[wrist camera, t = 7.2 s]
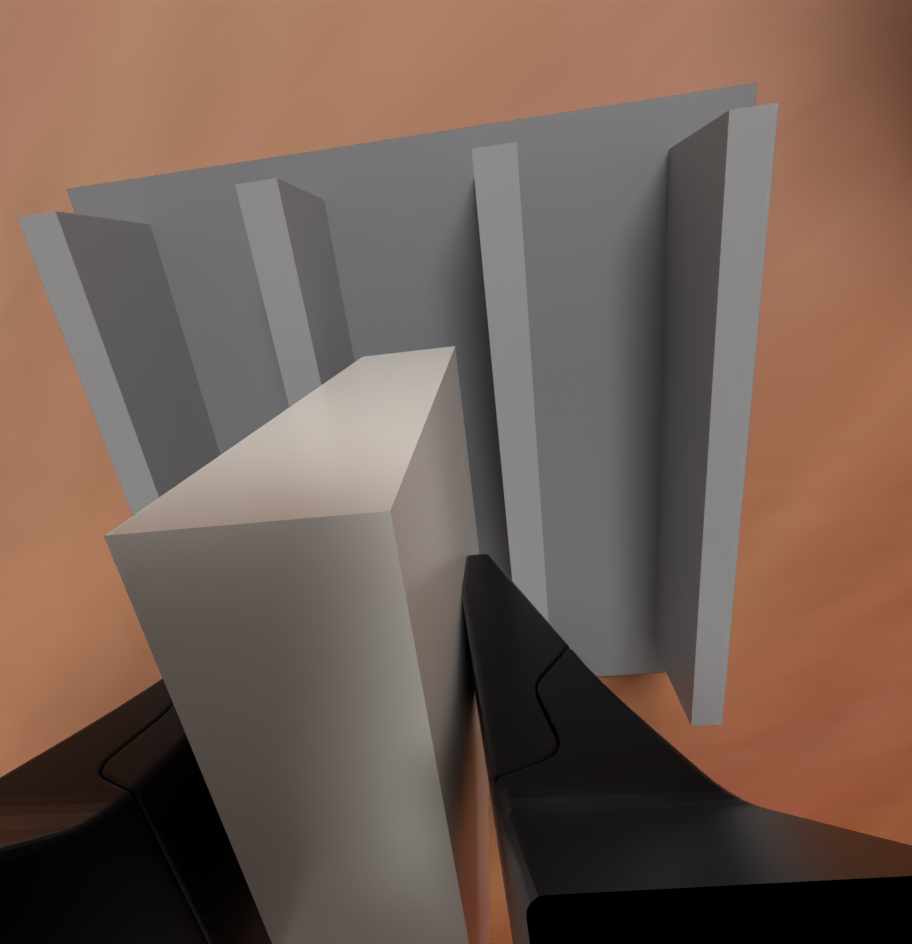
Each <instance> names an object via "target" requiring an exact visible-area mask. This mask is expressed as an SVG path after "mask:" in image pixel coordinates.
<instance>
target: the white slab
mask: <svg viewBox="0 0 912 944" xmlns="http://www.w3.org/2000/svg"><path fill="white" fill-rule="evenodd" d="M104 537H105V539H106V542H107V544H108V547H109V549H110V551H111V554H112V556H113V559H114V561H115V564H116V566H117V568H118V571H119V573H120V576H121V578H122V581H123V583H124V585H125V588H126V590H127V593H128V595H129V598H130V600H131V602H132V605H133V607H134V610H135V612H136V615H137V617H138V619H139V622H140V624H141V627H142V629H143V632H144V634H145V636H146V639H147V641H148V644H149V646H150V649H151V651H152V653H153V656H154V658H155V661H156V663H157V666H158V668H159V670H160V673H161V675H162V678H163V680H164V683H165V685H166V687H167V690H168V692H169V695H170V697H171V700H172V702H173V704H174V707H175V709H176V712H177V714H178V716H179V719H180V721H181V724H182V726H183V729H184V731H185V733H186V736H187V738H188V741H189V743H190V746H191V748H192V750H193V753H194V755H195V758H196V760H197V763H198V765H199V767H200V770H201V772H202V775H203V777H204V780H205V782H206V784H207V787H208V789H209V792H210V794H211V797H212V799H213V801H214V804H215V806H216V809H217V811H218V814H219V816H220V818H221V821H222V823H223V826H224V828H225V831H226V833H227V835H228V838H229V840H230V843H231V845H232V848H233V850H234V852H235V855H236V857H237V860H238V862H239V865H240V867H241V869H242V872H243V874H244V877H245V879H246V882H247V884H248V886H249V889H250V891H251V894H252V896H253V899H254V901H255V903H256V906H257V908H258V911H259V913H260V916H261V918H262V920H263V923H264V925H265V928H266V930H267V933H268V935H269V937H270V940H271V942H272V944H490V875H489V783H488V776H487V769H486V763H485V756H484V750H483V743H482V737H481V730H480V723H479V717H478V710H477V704H476V697H475V690H474V683H473V675H472V668H471V661H470V653H469V646H468V639H467V631H466V624H465V617H464V609H463V602H462V585H463V577H464V570H465V564H466V557H467V556H468V555H476V554H479V545H478V536H477V528H476V519H475V511H474V502H473V494H472V485H471V477H470V468H469V459H468V451H467V442H466V434H465V425H464V417H463V408H462V400H461V391H460V382H459V374H458V365H457V357H456V348H455V346H451V347H443V348H434V349H425V350H417V351H408V352H399V353H390V354H382V355H373V356H364V357H362V358H360V359H359V360H357V361H356V362H354V363H353V364H351V365H350V366H349V367H347V368H346V369H344V370H343V371H341V372H340V373H338V374H337V375H336V376H334V377H333V378H331V379H330V380H328V381H327V382H325V383H324V384H323V385H321V386H320V387H318V388H317V389H315V390H314V391H312V392H311V393H310V394H308V395H307V396H305V397H304V398H302V399H301V400H299V401H298V402H297V403H295V404H294V405H292V406H291V407H289V408H288V409H286V410H285V411H283V412H282V413H281V414H279V415H278V416H276V417H275V418H273V419H272V420H270V421H269V422H268V423H266V424H265V425H263V426H262V427H260V428H259V429H257V430H256V431H255V432H253V433H252V434H250V435H249V436H247V437H246V438H244V439H243V440H242V441H240V442H239V443H237V444H236V445H234V446H233V447H231V448H230V449H229V450H227V451H226V452H224V453H223V454H221V455H220V456H218V457H217V458H216V459H214V460H213V461H211V462H210V463H208V464H207V465H205V466H204V467H203V468H201V469H200V470H198V471H197V472H195V473H194V474H192V475H191V476H190V477H188V478H187V479H185V480H184V481H182V482H181V483H179V484H178V485H177V486H175V487H174V488H172V489H171V490H169V491H168V492H166V493H165V494H163V495H162V496H161V497H159V498H158V499H156V500H155V501H153V502H152V503H150V504H149V505H148V506H146V507H145V508H143V509H142V510H140V511H139V512H137V513H136V514H135V515H133V516H132V517H130V518H129V519H127V520H126V521H124V522H123V523H122V524H120V525H119V526H117V527H116V528H114V529H113V530H111V531H110V532H109V533H107V534H106V535H104Z"/></svg>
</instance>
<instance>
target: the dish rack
mask: <svg viewBox="0 0 912 944" xmlns="http://www.w3.org/2000/svg"><path fill="white" fill-rule="evenodd" d="M756 90H757V83H752V84H745V85H739V86H732V87H726V88H719V89H713V90H706V91H700V92H693V93H687V94H680V95H674V96H668V97H661V98H655V99H648V100H642V101H635V102H629V103H622V104H616V105H609V106H603V107H596V108H590V109H583V110H577V111H570V112H564V113H557V114H551V115H544V116H538V117H531V118H525V119H518V120H512V121H505V122H499V123H493V124H486V125H480V126H473V127H467V128H460V129H454V130H447V131H441V132H434V133H428V134H421V135H415V136H408V137H402V138H395V139H389V140H382V141H376V142H369V143H363V144H356V145H350V146H343V147H337V148H330V149H324V150H318V151H311V152H305V153H298V154H292V155H285V156H279V157H272V158H266V159H259V160H253V161H246V162H240V163H233V164H227V165H220V166H214V167H207V168H201V169H194V170H188V171H181V172H175V173H168V174H162V175H155V176H149V177H143V178H136V179H130V180H123V181H117V182H110V183H104V184H97V185H91V186H84V187H78V188H71V189H67V192H68V194H69V197H70V200H71V203H72V206H73V209H74V212H75V214H71V213H64V212H57V211H54V212H48V213H41V214H34V215H28V216H21V217H17V218H18V221H19V223H20V226H21V228H22V231H23V233H24V236H25V239H26V241H27V244H28V246H29V249H30V252H31V254H32V257H33V259H34V262H35V264H36V267H37V270H38V272H39V275H40V277H41V280H42V282H43V285H44V288H45V290H46V293H47V295H48V298H49V301H50V303H51V306H52V308H53V311H54V313H55V316H56V319H57V321H58V324H59V326H60V329H61V331H62V334H63V337H64V339H65V342H66V344H67V347H68V350H69V352H70V355H71V357H72V360H73V362H74V365H75V368H76V370H77V373H78V375H79V378H80V381H81V383H82V386H83V388H84V391H85V393H86V396H87V399H88V401H89V404H90V406H91V409H92V411H93V414H94V417H95V419H96V422H97V424H98V427H99V430H100V432H101V435H102V437H103V440H104V442H105V445H106V448H107V450H108V453H109V455H110V458H111V460H112V463H113V466H114V468H115V471H116V473H117V476H118V479H119V481H120V484H121V486H122V489H123V491H124V494H125V497H126V499H127V502H128V504H129V507H130V509H131V512H132V515H135V514H136V513H137V512H139V511H140V510H142V509H143V508H145V507H146V506H148V505H149V504H150V503H152V502H153V501H155V500H156V499H158V498H159V497H161V496H162V495H163V494H165V493H166V492H168V491H169V490H171V489H172V488H174V487H175V486H177V485H178V484H179V483H181V482H182V481H184V480H185V479H187V478H188V477H190V476H191V475H192V474H194V473H195V472H197V471H198V470H200V469H201V468H203V467H204V466H205V465H207V464H208V463H210V462H211V461H213V460H214V459H216V458H217V457H218V456H220V455H221V454H223V453H224V452H226V451H227V450H229V449H230V448H231V447H233V446H234V445H236V444H237V443H239V442H240V441H242V440H243V439H244V438H246V437H247V436H249V435H250V434H252V433H253V432H255V431H256V430H257V429H259V428H260V427H262V426H263V425H265V424H266V423H268V422H269V421H270V420H272V419H273V418H275V417H276V416H278V415H279V414H281V413H282V412H283V411H285V410H286V409H288V408H289V407H291V406H292V405H294V404H295V403H297V402H298V401H299V400H301V399H302V398H304V397H305V396H307V395H308V394H310V393H311V392H312V391H314V390H315V389H317V388H318V387H320V386H321V385H323V384H324V383H325V382H327V381H328V380H330V379H331V378H333V377H334V376H336V375H337V374H338V373H340V372H341V371H343V370H344V369H346V368H347V367H349V366H350V365H351V364H353V363H354V362H356V361H357V360H359V359H360V358H362V357H364V356H373V355H382V354H390V353H399V352H408V351H417V350H425V349H434V348H443V347H451V346H455V348H456V357H457V365H458V374H459V382H460V391H461V400H462V408H463V417H464V425H465V434H466V442H467V451H468V459H469V468H470V477H471V485H472V494H473V502H474V511H475V519H476V528H477V536H478V545H479V554H489V555H490V556H491V557H492V558H493V560H494V561H495V562H496V563H497V564H498V565H499V566H500V568H501V569H502V570H503V571H504V572H505V573H506V574H507V576H508V577H509V578H510V579H511V580H512V581H513V582H514V584H515V585H516V586H517V587H518V588H519V589H520V591H521V592H522V593H523V594H524V595H525V596H526V597H527V599H528V600H529V601H530V602H531V603H532V604H533V605H534V607H535V608H536V609H537V610H538V611H539V612H540V613H541V615H542V616H543V617H544V618H545V619H546V620H547V621H548V623H549V624H550V625H551V626H552V627H553V628H554V630H555V631H556V632H557V633H558V634H559V635H560V636H561V638H562V639H563V640H564V641H565V642H566V643H567V644H568V646H569V647H570V649H572V650H573V651H574V652H575V653H576V655H577V656H578V657H579V658H580V659H581V660H582V661H583V663H584V664H585V665H586V666H587V667H588V668H589V669H590V670H591V671H592V672H593V673H594V674H595V676H596V677H597V676H614V675H632V674H649V673H666V672H667V674H668V676H669V679H670V681H671V683H672V685H673V687H674V689H675V692H676V694H677V696H678V698H679V700H680V703H681V705H682V707H683V709H684V711H685V713H686V716H687V718H688V720H689V722H690V724H691V726H699V725H720V724H722V721H723V710H724V699H725V688H726V677H727V666H728V655H729V644H730V633H731V622H732V611H733V600H734V589H735V578H736V567H737V556H738V545H739V534H740V523H741V512H742V501H743V490H744V479H745V468H746V457H747V446H748V435H749V424H750V413H751V402H752V391H753V380H754V369H755V358H756V347H757V336H758V325H759V314H760V303H761V292H762V281H763V270H764V259H765V248H766V237H767V226H768V215H769V204H770V193H771V182H772V171H773V160H774V149H775V138H776V127H777V116H778V105H779V103H772V104H765V105H759V106H755V103H756Z"/></svg>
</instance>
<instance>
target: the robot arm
mask: <svg viewBox="0 0 912 944" xmlns="http://www.w3.org/2000/svg"><path fill="white" fill-rule="evenodd" d="M462 602H463V609H464V617H465V624H466V631H467V639H468V646H469V653H470V661H471V668H472V675H473V683H474V690H475V697H476V704H477V710H478V717H479V723H480V730H481V737H482V743H483V750H484V756H485V763H486V769H487V776H488V783H489V789H490V796H491V802H492V809H493V815H494V822H495V828H496V835H497V842H498V848H499V855H500V861H501V868H502V874H503V881H504V888H505V894H506V901H507V907H508V914H509V920H510V927H511V934H512V940H513V944H912V846H911V845H907V844H903V843H899V842H895V841H891V840H887V839H884V838H880V837H876V836H872V835H868V834H864V833H860V832H856V831H852V830H848V829H844V828H840V827H836V826H832V825H828V824H824V823H821V822H817V821H813V820H809V819H805V818H801V817H797V816H793V815H789V814H785V813H781V812H777V811H773V810H769V809H766V808H762V807H759V806H756V805H754V804H751V803H749V802H747V801H744V800H743V799H741V798H739V797H737V796H736V795H734V794H732V793H730V792H729V791H727V790H726V789H724V788H723V787H722V786H720V785H719V784H717V783H716V782H714V781H713V780H712V779H711V778H709V777H708V776H707V775H706V774H705V773H703V772H702V771H701V770H700V769H699V768H697V767H696V766H695V765H694V764H693V763H692V762H691V761H689V760H688V759H687V758H686V757H685V756H684V755H683V754H681V753H680V752H679V751H678V750H677V749H676V748H675V747H673V746H672V745H671V744H670V743H669V742H668V741H667V740H665V739H664V738H663V737H662V736H661V735H660V734H659V733H657V732H656V731H655V730H654V729H653V728H652V727H651V726H649V725H648V724H647V723H646V722H645V721H644V720H643V719H641V718H640V717H639V716H638V715H637V714H636V713H635V712H633V711H632V710H631V709H630V708H629V707H628V706H627V705H626V704H625V703H623V702H622V701H621V700H620V699H619V698H618V697H617V696H616V695H615V694H614V693H613V692H612V691H611V690H609V689H608V688H607V687H606V686H605V685H604V684H603V683H602V682H601V681H600V680H599V679H598V678H597V677H596V676H595V674H594V673H593V672H592V671H591V670H590V669H589V668H588V667H587V666H586V665H585V664H584V663H583V661H582V660H581V659H580V658H579V657H578V656H577V655H576V653H575V652H574V651H573V650H572V649H570V647H569V646H568V644H567V643H566V642H565V641H564V640H563V639H562V638H561V636H560V635H559V634H558V633H557V632H556V631H555V630H554V628H553V627H552V626H551V625H550V624H549V623H548V621H547V620H546V619H545V618H544V617H543V616H542V615H541V613H540V612H539V611H538V610H537V609H536V608H535V607H534V605H533V604H532V603H531V602H530V601H529V600H528V599H527V597H526V596H525V595H524V594H523V593H522V592H521V591H520V589H519V588H518V587H517V586H516V585H515V584H514V582H513V581H512V580H511V579H510V578H509V577H508V576H507V574H506V573H505V572H504V571H503V570H502V569H501V568H500V566H499V565H498V564H497V563H496V562H495V561H494V560H493V558H492V557H491V556H490V555H489V554H476V555H468V556H467V557H466V564H465V570H464V577H463V585H462ZM0 944H272V942H271V940H270V937H269V935H268V933H267V930H266V928H265V925H264V923H263V920H262V918H261V916H260V913H259V911H258V908H257V906H256V903H255V901H254V899H253V896H252V894H251V891H250V889H249V886H248V884H247V882H246V879H245V877H244V874H243V872H242V869H241V867H240V865H239V862H238V860H237V857H236V855H235V852H234V850H233V848H232V845H231V843H230V840H229V838H228V835H227V833H226V831H225V828H224V826H223V823H222V821H221V818H220V816H219V814H218V811H217V809H216V806H215V804H214V801H213V799H212V797H211V794H210V792H209V789H208V787H207V784H206V782H205V780H204V777H203V775H202V772H201V770H200V767H199V765H198V763H197V760H196V758H195V755H194V753H193V750H192V748H191V746H190V743H189V741H188V738H187V736H186V733H185V731H184V729H183V726H182V724H181V721H180V719H179V716H178V714H177V712H176V709H175V707H174V704H173V702H172V700H171V697H170V695H169V692H168V690H167V687H166V685H165V683H164V680H163V679H161V680H160V681H158V682H157V683H155V684H154V685H152V686H151V687H149V688H148V689H146V690H145V691H143V692H141V693H140V694H138V695H137V696H135V697H134V698H132V699H131V700H129V701H127V702H126V703H124V704H123V705H121V706H120V707H118V708H117V709H115V710H113V711H112V712H110V713H108V714H107V715H105V716H103V717H102V718H100V719H98V720H97V721H95V722H93V723H92V724H90V725H88V726H87V727H85V728H83V729H82V730H80V731H78V732H77V733H75V734H74V735H72V736H70V737H68V738H67V739H65V740H63V741H62V742H60V743H58V744H57V745H55V746H53V747H51V748H50V749H48V750H46V751H45V752H43V753H41V754H40V755H38V756H36V757H35V758H33V759H31V760H29V761H28V762H26V763H24V764H23V765H21V766H19V767H18V768H16V769H14V770H12V771H11V772H9V773H7V774H6V775H4V776H2V777H1V778H0Z"/></svg>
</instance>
